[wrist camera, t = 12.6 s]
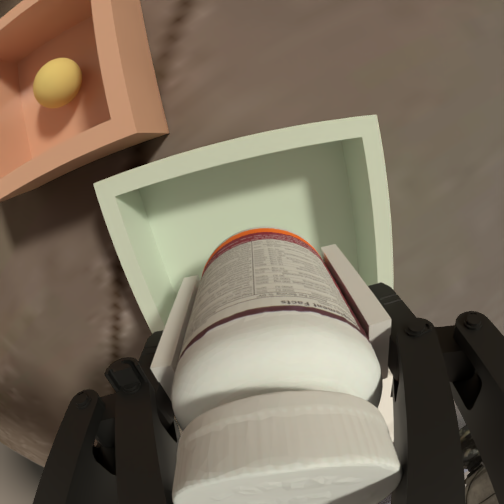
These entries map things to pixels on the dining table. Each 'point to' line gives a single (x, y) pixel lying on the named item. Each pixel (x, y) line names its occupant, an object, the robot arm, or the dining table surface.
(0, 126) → the orange open box
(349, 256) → the green tray
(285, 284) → the pill bottle
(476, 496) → the lantern
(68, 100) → the yellow ball
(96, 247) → the dining table surface
